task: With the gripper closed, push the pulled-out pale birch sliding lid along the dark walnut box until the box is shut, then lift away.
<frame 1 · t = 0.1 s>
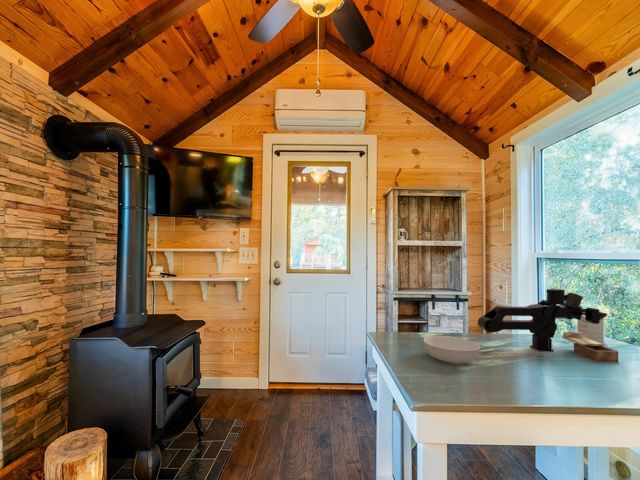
hand: (597, 312, 144), 17 cm above the table, tool horizontal, fingers open, 9 cm apart
lid: (582, 338, 140), point 6 cm above the table, slide at 6.5 cm
serving bowl: (450, 360, 128), on the table
walnut box: (595, 357, 133), on the table
supplement box: (590, 341, 158), on the table
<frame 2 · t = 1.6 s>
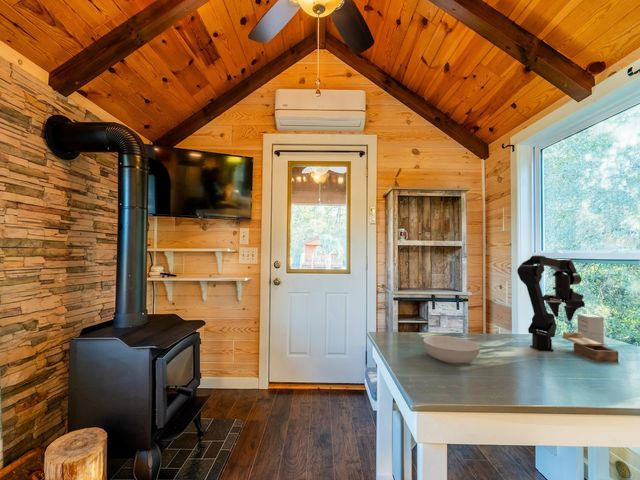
hand: (562, 318, 151), 12 cm above the table, tool pointing down, fingers open, 8 cm apart
nothing on the table moved.
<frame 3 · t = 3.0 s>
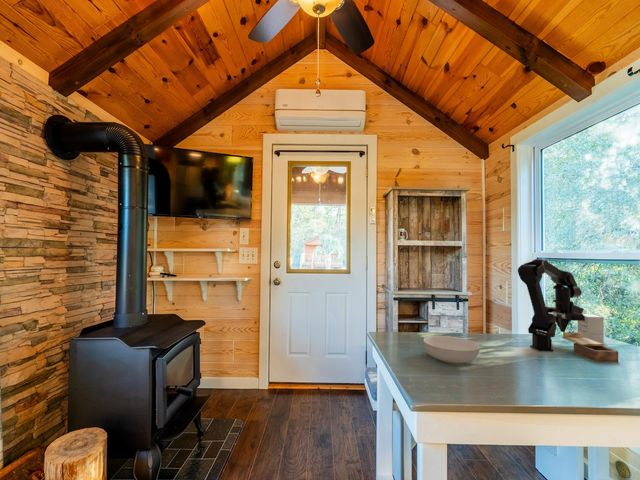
hand: (562, 331, 151), 6 cm above the table, tool pointing down, fingers closed
nothing on the table moved.
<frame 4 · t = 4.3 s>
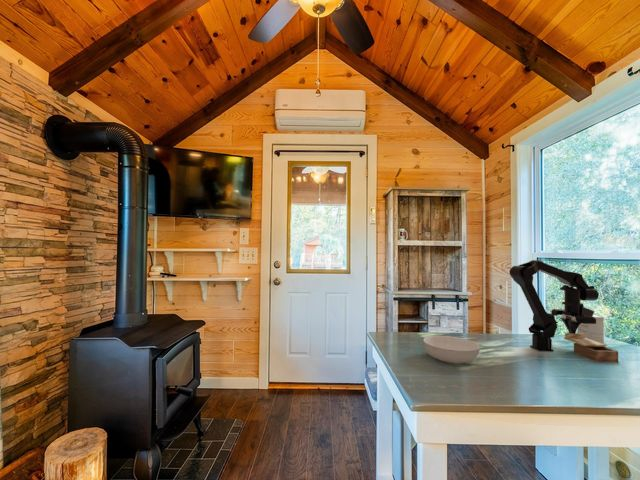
hand: (572, 335, 145), 6 cm above the table, tool pointing down, fingers closed
lid: (584, 339, 139), point 6 cm above the table, slide at 5.4 cm, touching gripper
everything else where it was.
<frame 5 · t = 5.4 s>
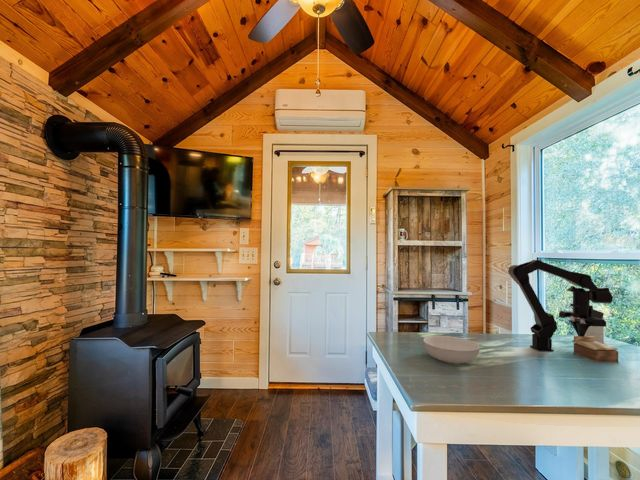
hand: (581, 338, 140), 6 cm above the table, tool pointing down, fingers closed
lid: (593, 342, 134), point 6 cm above the table, slide at 0.5 cm, touching gripper
everything else where it was.
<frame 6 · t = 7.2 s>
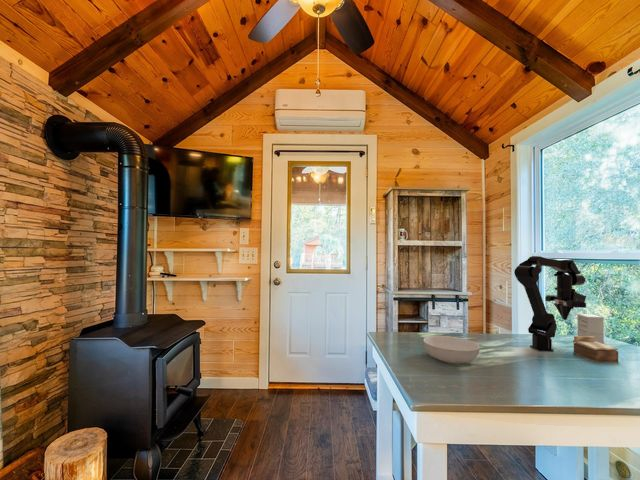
hand: (564, 319, 149), 12 cm above the table, tool pointing down, fingers closed
lid: (594, 342, 134), point 6 cm above the table, slide at 0.4 cm
everything else where it was.
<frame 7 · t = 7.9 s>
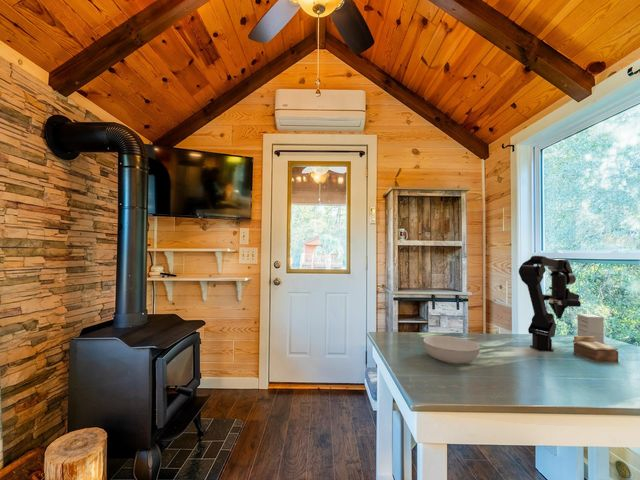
hand: (558, 318, 152), 12 cm above the table, tool pointing down, fingers closed
nothing on the table moved.
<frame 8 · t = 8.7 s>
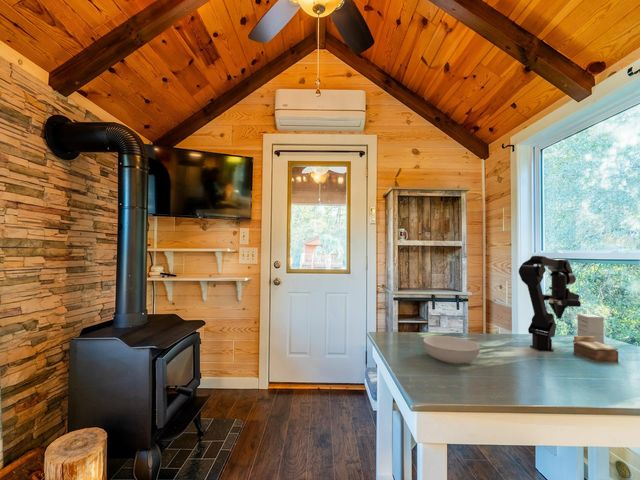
hand: (558, 318, 152), 12 cm above the table, tool pointing down, fingers closed
nothing on the table moved.
at the end: lid slide at 0.4 cm; lid touching nothing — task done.
